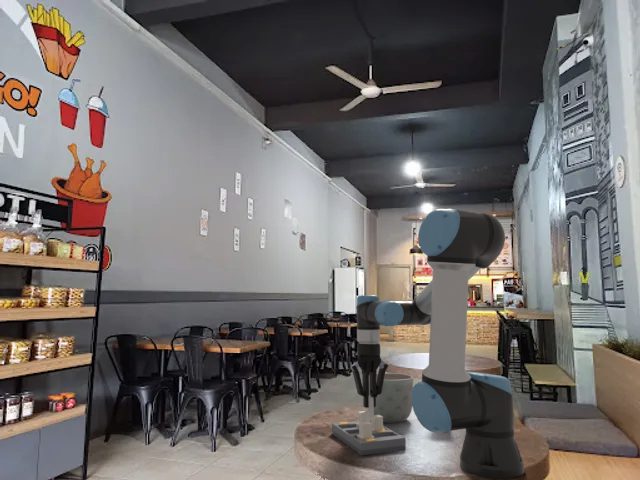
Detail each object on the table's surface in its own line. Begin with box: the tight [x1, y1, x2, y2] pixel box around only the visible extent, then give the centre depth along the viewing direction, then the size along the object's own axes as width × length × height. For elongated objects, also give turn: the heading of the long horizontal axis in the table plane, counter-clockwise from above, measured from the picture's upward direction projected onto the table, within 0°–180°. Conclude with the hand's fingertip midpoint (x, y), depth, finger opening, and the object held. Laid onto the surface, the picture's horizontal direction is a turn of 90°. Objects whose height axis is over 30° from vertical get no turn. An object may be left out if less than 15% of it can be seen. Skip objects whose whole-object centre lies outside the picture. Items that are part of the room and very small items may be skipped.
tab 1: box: [356, 410, 371, 427], centre depth 142 cm, size 3×4×6 cm
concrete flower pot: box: [369, 372, 414, 424], centre depth 161 cm, size 17×17×15 cm
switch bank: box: [331, 419, 407, 456], centre depth 135 cm, size 22×14×3 cm, turn 20°
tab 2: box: [357, 421, 375, 440], centre depth 129 cm, size 3×4×6 cm
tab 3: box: [370, 415, 385, 432], centre depth 137 cm, size 3×4×6 cm
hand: (369, 417), depth 143 cm, fingers closed
